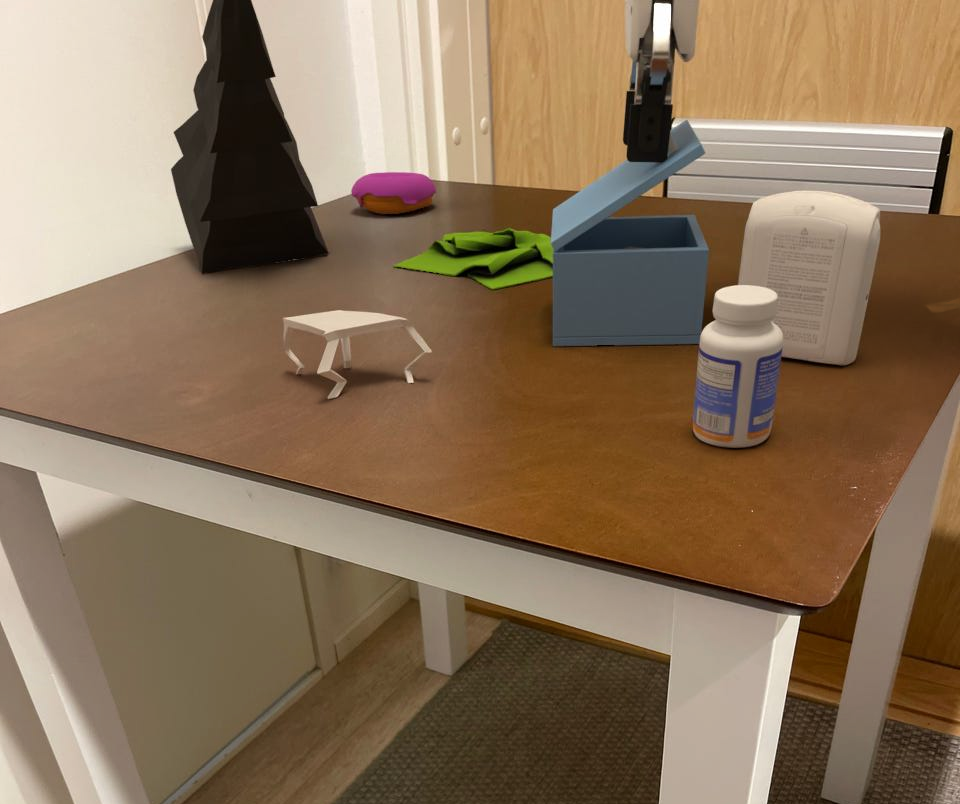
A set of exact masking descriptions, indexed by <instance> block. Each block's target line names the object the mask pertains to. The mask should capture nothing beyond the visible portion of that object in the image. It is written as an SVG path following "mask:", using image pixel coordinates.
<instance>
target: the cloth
mask: <svg viewBox="0 0 960 804" xmlns="http://www.w3.org/2000/svg"><path fill="white" fill-rule="evenodd" d="M392 267H393V268H397V267H401V268H400V269H403V268H408V269H407V270H410V269H414V270H413V271H416V270H420V271H419V272H423V271H426V272H425V273H429V272H433V273H432V274H436V273H439V274H438V275H442V274H443V276H452V277H456V276H459V274H462V273H466V272H468V273H467V277H469V278H470V277H471V278H470V279H473V280H475V281H476V282H477V283H478V284H480V283H481V284H480V285H482V286H484V287H486V288H488V289H490V290H492V291H494V290H500V289H504V288H508V287H509V288H510V287H514V286H519V285H522V284H523V285H524V284H527V283H528V284H529V283H532V281H533V282H537V281H542V280H545V279H549V278H553V247H552V245H551V236H549V235H547V234H545V233H535V232H531V231H529V230H515V229H513V228H510V227H508V228H506V229H503V230H498V231H494V232H487V231H472V232H452V233H447V234H445V233H444V235H443V237H442V240H437V239H436V240H435V241H434V242H433V243H432V244H431V245H430V246H429V248H428V249H427V250H426V251H425V252H423V253H421V254H418V255H416V256H413V257H410V258H409V259H406V260H404V261H400V262H399V263H395V264H393V265H392ZM518 284H519V285H518Z"/></svg>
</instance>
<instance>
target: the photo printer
mask: <svg viewBox="0 0 960 804" xmlns="http://www.w3.org/2000/svg"><path fill="white" fill-rule="evenodd" d="M880 221H881V209H880V208H879V207H876V206H875V205H873V204H871V203H869V202H866V201H865V200H861V199H859V198H856V197H853V196H850V195H846V194H842V193H837V192H831V191H824V190H793V191H785V192H780V193H774V194H771V195H767V196H764V197H760V198H758V199H757V200H756V201H754V202H753V203H752V205H751V208H750V211H749V215H748V218H747V221H746V224H745V227H744V233H743V243H742V250H741V259H740V266H739V274H738V281H737V285H752V286H760V287H765V288H768V289H771V290H773V291H775V292H776V293H777V295H778V301H777V312H776V315H775V318H774V319H773V320H771V322H772V323H774V324H776V325H777V326H778V327H779V328H780V329H781V331H782V334H783V348H782V355H781V358H788V359H794V360H800V361H808V362H814V363H820V364H829V365H837V366H841V367H842V366H843V367H844V366H847V365H851V364H852V363H854V362H855V361H856V359H857V355H858V350H859V346H860V345H859V344H860V341H861V336H862V332H863V327H864V321H865V316H866V312H867V306H868V302H869V296H870V292H871V288H872V282H873V277H874V273H875V267H876V262H877V257H878V252H879V248H880V242H881V231H882V230H881V224H880V223H881V222H880Z"/></svg>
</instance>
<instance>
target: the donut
mask: <svg viewBox="0 0 960 804" xmlns="http://www.w3.org/2000/svg"><path fill="white" fill-rule="evenodd" d="M350 192H351V196H352V198H355V199H356V200H357V203H358V205H359V207H360V208H363V209H365V210H367V211H369V212H372V213H375V214H379V215H385V214H397V215H399V214H398V213H404V214H406V213H405V212H408V213H410V212H409V211H412V212H415V211H418V210H417V209H419V210H421V209H420V208H422V209H425V208H424V207H426V208H428V207H429V206H431V205H432V203H433V196H434V194H436V193H437V189H436V186H435V183H434V181H433V180H432V179H431V178H430V177H429V176H427V175H425V174H422V173H417V172H407V171H406V172H405V171H404V172H403V171H401V172H399V171H393V172H392V171H388V172H386V171H385V172H372V173H368V174H365V175H363V176H361V177H359V178H358V179H357V180H356V181H355V182H354V184H353V185H352V188H351V191H350ZM427 206H428V207H427ZM414 210H415V211H414Z"/></svg>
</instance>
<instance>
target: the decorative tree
mask: <svg viewBox="0 0 960 804" xmlns="http://www.w3.org/2000/svg"><path fill="white" fill-rule="evenodd" d="M201 38H202V41H203V45H204V47H205V59H206V60H205V61H204V64H203V65H202V67H201V69H200V70H199V72H198V73H197V75H196V78H195V81H194V85H193V90H192V91H193V95H194V101H195V104H196V108H197V110H196V111H195V112H194V113H193V114H192V115H191V116H190V117H189V118H188V119H186V120H185V121H184V123H182V124H181V125H180V126H179V127H177V128H176V129H175V130H174V131H173V135H174V138H175V140H176V142H177V144H178V147H179V150H180V152H181V155H182V156H181V157H180V159H178V160H177V161H176V163H175V164H174V165H173V166H172V167H171V169H170V173H171V177H172V180H173V185H174V190H175V194H176V197H177V201H178V204H179V207H180V210H181V214H182V217H183V220H184V223H185V227H186V229H187V233H188V236H189V239H190V242H191V245H192V247H193V251H194V254H195V257H196V260H197V263H198V265H199V269H200V272H201V275H205V274H210V273H214V272H218V271H224V270H228V269H236V268H245V267H255V266H262V265H271V264H277V263H276V262H280V263H283V262H282V261H287V262H289V261H288V260H293V259H300V260H303V259H302V258H305V259H309V258H315V257H321V256H324V255H329V254H330V252H329V249H328V247H327V245H326V242H325V240H324V239H325V238H324V237H323V234H322V232H321V229H320V227H319V225H318V221H317V219H316V217H315V214H314V212H313V209H312V208H314V207H319V205H318V200H317V198H316V194H315V190H314V187H313V185H312V183H311V181H310V178H309V176H308V174H307V172H306V169H305V167H304V166H303V164H302V161H301V160H300V154H299V148H298V142H297V140H296V138H295V135H294V134H293V132H292V129H291V127H290V125H289V123H288V121H287V119H286V117H285V112H284V109H283V107H282V104H281V102H280V99H279V97H278V94H277V92H276V89H275V86H274V84H273V81H272V78H276V77H277V76H276V73H275V71H274V67H273V64H272V60H271V57H270V54H269V50H268V46H267V44H266V41H265V37H264V34H263V31H262V27H261V24H260V22H259V19H258V16H257V13H256V10H255V7H254V4H253V1H252V0H212V2H211V5H210V8H209V11H208V15H207V18H206V21H205V25H204V29H203V33H202V36H201ZM204 273H205V274H204Z"/></svg>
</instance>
